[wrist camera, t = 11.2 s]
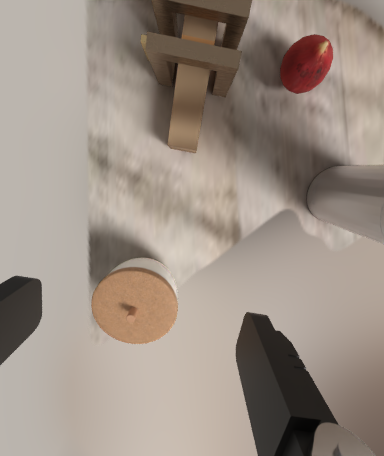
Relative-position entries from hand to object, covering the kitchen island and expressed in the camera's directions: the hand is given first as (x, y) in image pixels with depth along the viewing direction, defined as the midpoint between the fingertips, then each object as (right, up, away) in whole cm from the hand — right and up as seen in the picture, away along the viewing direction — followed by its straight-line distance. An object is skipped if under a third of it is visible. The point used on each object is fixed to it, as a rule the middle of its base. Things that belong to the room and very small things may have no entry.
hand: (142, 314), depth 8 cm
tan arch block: (+2, +27, +22) cm, 34 cm away
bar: (+2, +24, +22) cm, 33 cm away
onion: (+16, +25, +22) cm, 38 cm away
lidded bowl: (-7, -6, +31) cm, 32 cm away
